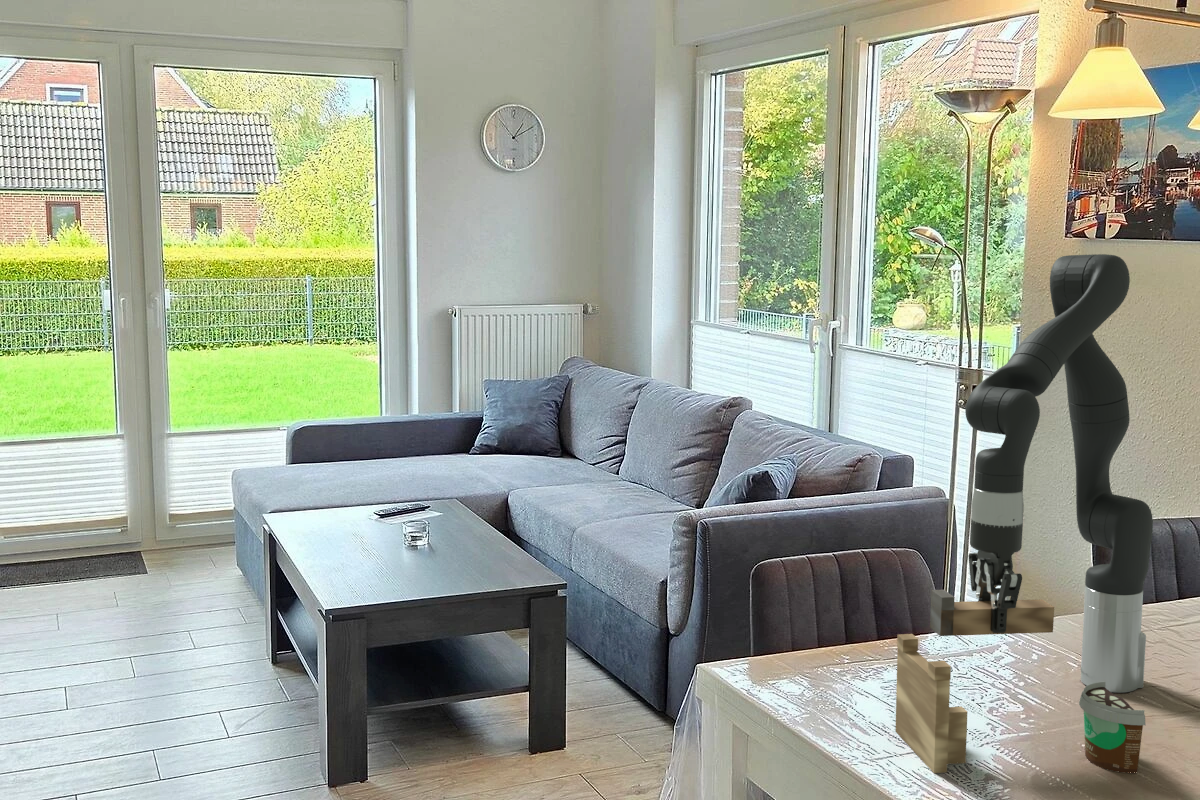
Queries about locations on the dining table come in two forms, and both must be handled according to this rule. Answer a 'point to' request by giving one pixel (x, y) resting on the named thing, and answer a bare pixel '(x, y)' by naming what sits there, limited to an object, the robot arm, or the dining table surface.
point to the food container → (1111, 729)
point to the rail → (987, 616)
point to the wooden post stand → (928, 708)
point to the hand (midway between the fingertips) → (991, 626)
